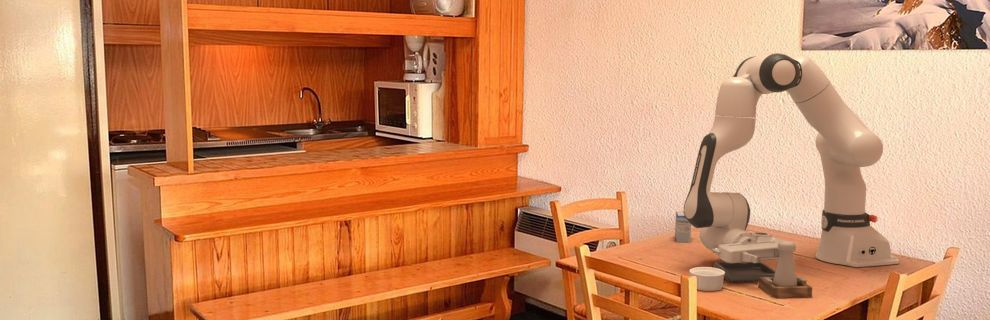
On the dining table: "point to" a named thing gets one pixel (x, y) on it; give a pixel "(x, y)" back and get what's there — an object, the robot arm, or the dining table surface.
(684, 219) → the medicine box
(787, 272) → the salt shaker
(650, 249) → the dining table surface
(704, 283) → the ramekin
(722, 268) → the tray
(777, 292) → the tray
